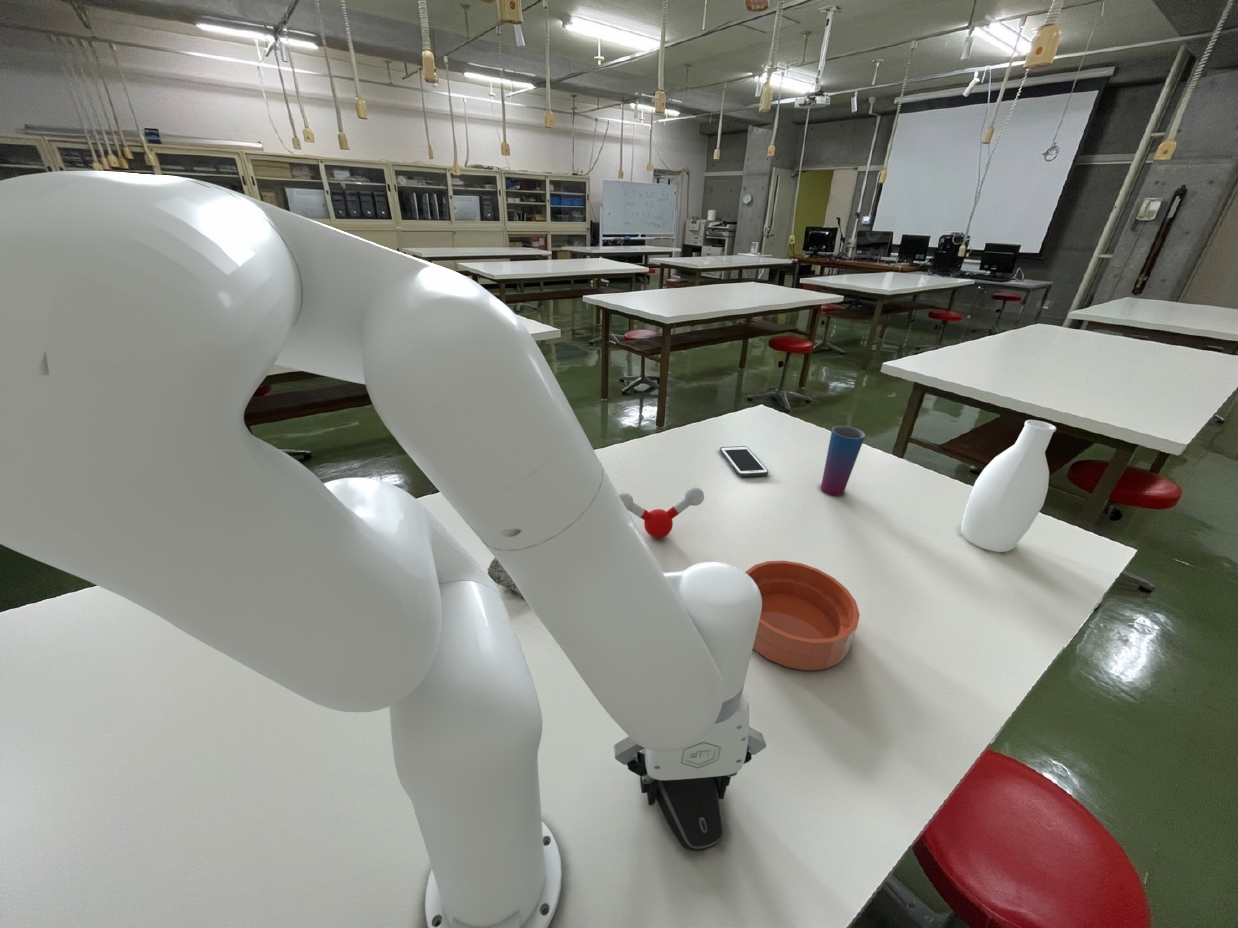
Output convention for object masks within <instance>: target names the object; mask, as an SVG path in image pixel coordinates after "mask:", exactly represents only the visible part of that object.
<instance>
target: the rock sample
mask: <svg viewBox="0 0 1238 928" xmlns="http://www.w3.org/2000/svg"><path fill="white" fill-rule="evenodd" d="M485 571H486V572H487V573H488V575H489V576H490V577H491V579H492V580H493V581H494V583H495V584H497V585H499V586H501V587H505V588H509V589H511V590H512V591H514V593H517V594H521V593H520V591H519V589H518V588H517V586H516V584H515V583H514V581H513V580H512V578H511V577H510V575H509V574H508V573H507V571H506V570H505V569H504V568H503V566H502V565H501V564H500V563H499V561H498V560H497V559H496V558H495V557H494V558H493V559H492V560H491V562H490V564H489V566H488V568H487V570H486V569H485ZM521 595H522V594H521Z"/></svg>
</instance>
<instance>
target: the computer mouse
mask: <svg viewBox="0 0 1238 928" xmlns="http://www.w3.org/2000/svg"><path fill="white" fill-rule="evenodd" d="M657 783H658V787H657V795H656V802H657V804H658V805H659V808H660V810H661V812H662V814H663V816H664V819H665V820H666V823H667V824H668V826H669V828H670V830H671V831H672V833H673V835H674V836H675V837H676V839H677V841H678V842H679V844H680V845H681V846H682V847H683V848H684V849H686V850H688V851H691V852H700V851H701V852H702V851H706V850H709V849H711V848H714V847H715V846H716V845H718V844H719V843H720V842H721V841H722V839H723V837H724V824H723V823H724V822H723V817H722V816H723V815H722V811H721V810H722V809H721V804H720V799H719V798H718V793H717V787H716V782H715V777H705V778H693V779H679V780H657Z"/></svg>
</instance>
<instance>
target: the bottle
mask: <svg viewBox="0 0 1238 928" xmlns="http://www.w3.org/2000/svg"><path fill="white" fill-rule="evenodd" d="M1056 431H1057V427H1056V426H1055V425H1053V424H1052V423H1049V422H1047V421H1042V420H1037V419H1027V420H1025V421H1024V426H1023V428H1022V430H1021V432H1020V433H1019V435H1018V437H1017V440H1016V441H1015V442H1014V444H1012V445H1011V446H1010V447H1008V448H1007V449H1005V450H1003V451H1002V452H1001V453H999V454H998V455H996V456H995V457H994V458H993V459H992V460H991V461H990V462H989V463H988V464H987V465H986V466H985V467H984V468H983V469H982V471H981V472H980V474H979V476H978V477H977V479H975V482H974V484H973V487H972V490H971V492H970V495H969V498H968V500H967V503H966V506H965V510H964V514H963V517H962V522H961V527H960V530H961V531H960V532H961V533H962V536H963V537H964V538H965V539H966V540H967V541H968V542H969V543H971V544H972V545H975V546H976V547H978V548H980V549H984V550H987V551H990V552H994V553H1004V552H1005V553H1006V552H1009V551H1011V550H1013V549H1014V548H1015V547H1016V546H1017V544H1018V543H1019V542H1020V541H1021V539H1022V538H1023V537H1024V536H1025V535H1026V534H1027V532H1028V531H1029V529H1030V528H1031V526H1032V525H1033V523H1034V522H1035V520H1036V518H1037V517H1038V515H1039V513H1040V511H1041V510H1042V508H1043V506H1044V504H1045V501H1046V497H1047V495H1048V494H1047V493H1048V489H1049V479H1050V470H1049V469H1050V468H1049V465H1048V461H1047V457H1046V450H1047V449H1048V446H1049V444H1050V442H1051V439H1052V437H1053V434H1054V433H1055V432H1056Z"/></svg>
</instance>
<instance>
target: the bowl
mask: <svg viewBox="0 0 1238 928" xmlns="http://www.w3.org/2000/svg"><path fill="white" fill-rule="evenodd" d="M744 572H745V573H746V574H748V575H749V576H750V577H751V578H752V579H753V581H754V582H755V583H756V585H757V586H758V588H759V591H760V594H761V598H762V610H761V616H760V620H759V624H758V628H757V632H756V637H755V641H754V645H753V649H752V650H755V651H756V652H757V653H758V654H760V655H761V656H762V657H764V658H765V659H768V660H769V661H771V662H773V663H777V664H778V665H781V666H784V667H787V668H790V669H791V668H792V669H797V670H801V671H816V670H817V671H818V670H820V671H821V670H827V669H828V668H831V667H833V666H835V665H838V664H840V662H842V660H843V659H844V658H845V657H846V656H847V655H848V653H849V651H850V648H851V645H852V644H853V643H852V642H853V640H854V637H855V635H856V631H857V629H858V627H859V626H858V625H859V621H860V616H861V613H860V610H859V607H858V603H857V601H856V599H855V598H854V597H853V595H852V594H851V593H850V591H849V590H848V589H847V587H845V586H844V585H843V584H842V583H841V582H839V581H838V580H837V579H836V578H835V577H833V576H831V575H829V574H828V573H826V572H824V571H822V570H820V569H818V568H816V567H813V566H811V565H807V564H804V563H801V562H796V561H790V560H766V561H764V562H761V563H760V562H759V563H757V564H754V565H752V566H751V567H750V568H748V569H747V570H745V571H744Z"/></svg>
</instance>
